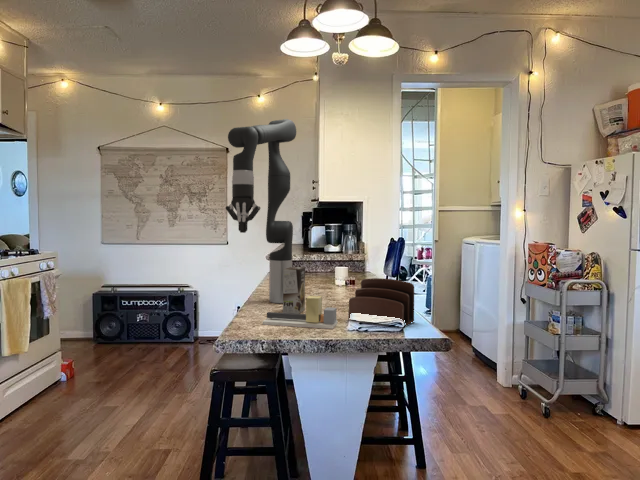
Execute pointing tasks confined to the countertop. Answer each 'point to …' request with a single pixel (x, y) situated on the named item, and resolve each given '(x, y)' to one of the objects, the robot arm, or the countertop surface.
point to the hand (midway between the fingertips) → (242, 232)
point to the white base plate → (302, 319)
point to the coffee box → (294, 290)
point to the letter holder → (384, 299)
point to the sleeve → (313, 308)
